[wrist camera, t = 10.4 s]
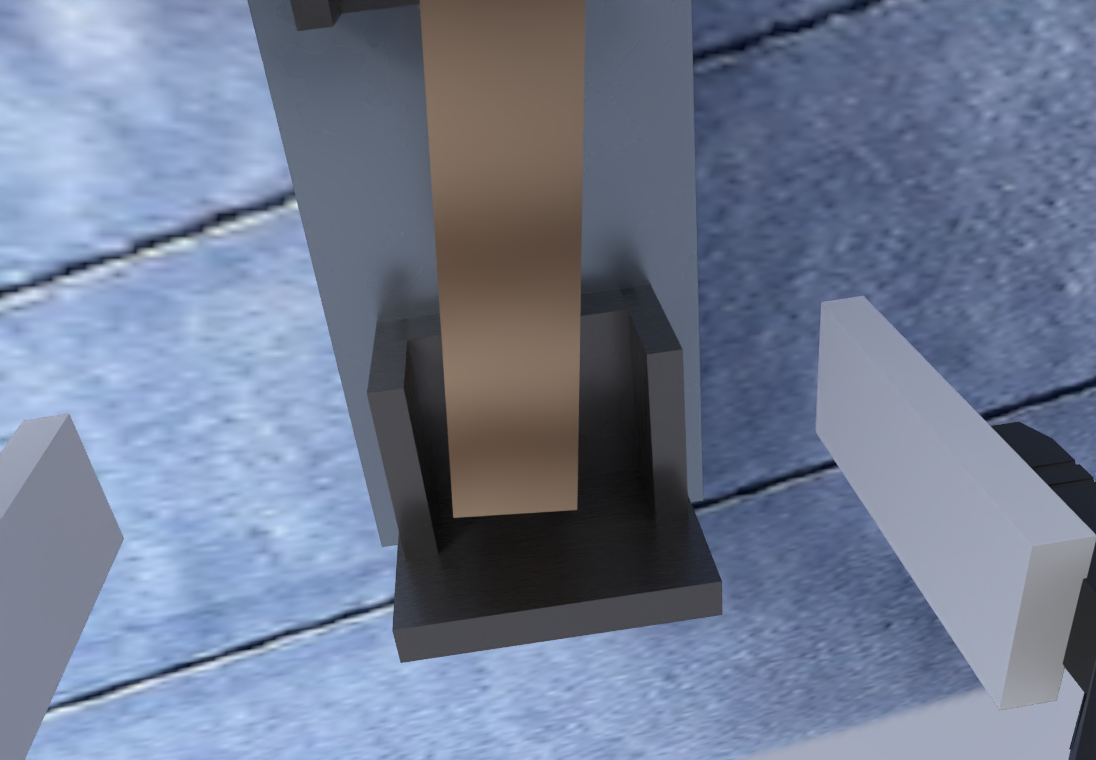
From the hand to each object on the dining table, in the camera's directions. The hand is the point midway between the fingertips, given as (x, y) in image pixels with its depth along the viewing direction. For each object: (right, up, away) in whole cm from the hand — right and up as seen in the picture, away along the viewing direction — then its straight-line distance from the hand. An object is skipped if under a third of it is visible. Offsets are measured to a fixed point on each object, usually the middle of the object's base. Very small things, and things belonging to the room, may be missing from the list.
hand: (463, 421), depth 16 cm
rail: (0, +7, +14) cm, 16 cm away
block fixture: (0, +9, +17) cm, 19 cm away
